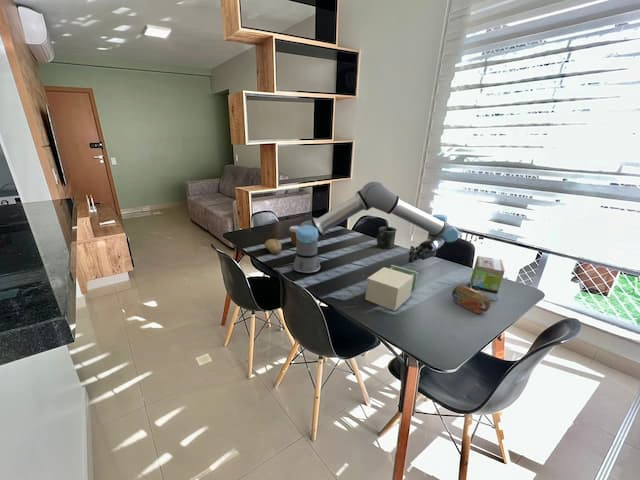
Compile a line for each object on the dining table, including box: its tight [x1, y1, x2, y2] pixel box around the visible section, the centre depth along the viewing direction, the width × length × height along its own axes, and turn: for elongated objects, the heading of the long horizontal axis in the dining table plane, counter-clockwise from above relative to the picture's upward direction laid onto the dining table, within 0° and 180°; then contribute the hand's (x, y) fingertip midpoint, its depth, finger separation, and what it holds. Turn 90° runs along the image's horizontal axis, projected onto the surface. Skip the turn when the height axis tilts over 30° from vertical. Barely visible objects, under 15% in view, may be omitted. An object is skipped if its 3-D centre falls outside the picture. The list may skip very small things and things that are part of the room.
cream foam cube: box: [364, 266, 413, 312], centre depth 128 cm, size 16×14×11 cm
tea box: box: [469, 255, 505, 301], centre depth 132 cm, size 15×10×15 cm
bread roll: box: [264, 238, 283, 255], centre depth 186 cm, size 10×15×8 cm, turn 28°
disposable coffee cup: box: [288, 225, 300, 247], centre depth 197 cm, size 10×10×12 cm
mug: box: [376, 226, 397, 250], centre depth 189 cm, size 11×15×12 cm
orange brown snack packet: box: [451, 285, 492, 314], centre depth 121 cm, size 15×3×8 cm, turn 23°
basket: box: [388, 264, 419, 291], centre depth 135 cm, size 19×13×9 cm, turn 135°
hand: (410, 260), depth 139 cm, fingers closed
